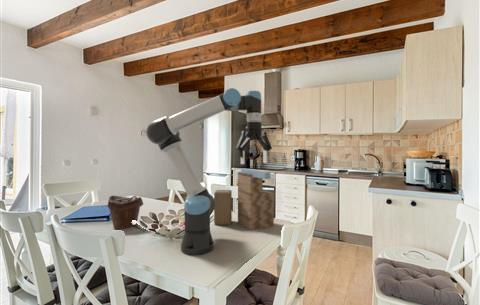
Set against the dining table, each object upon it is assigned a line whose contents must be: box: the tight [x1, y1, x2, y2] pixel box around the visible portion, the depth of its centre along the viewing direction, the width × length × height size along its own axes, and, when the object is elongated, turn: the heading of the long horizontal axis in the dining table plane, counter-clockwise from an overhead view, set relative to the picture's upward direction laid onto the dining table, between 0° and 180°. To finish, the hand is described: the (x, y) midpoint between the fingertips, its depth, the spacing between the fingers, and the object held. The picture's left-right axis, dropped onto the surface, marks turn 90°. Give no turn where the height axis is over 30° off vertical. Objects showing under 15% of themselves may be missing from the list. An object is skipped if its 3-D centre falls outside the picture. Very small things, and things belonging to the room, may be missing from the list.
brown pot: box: [107, 195, 144, 229], centre depth 149 cm, size 18×20×18 cm
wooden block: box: [213, 189, 233, 226], centre depth 153 cm, size 10×10×20 cm
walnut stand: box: [237, 171, 275, 231], centre depth 151 cm, size 16×16×32 cm
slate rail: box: [240, 168, 271, 180], centre depth 144 cm, size 4×26×4 cm, turn 29°
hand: (254, 163), depth 127 cm, fingers open, 13 cm apart
